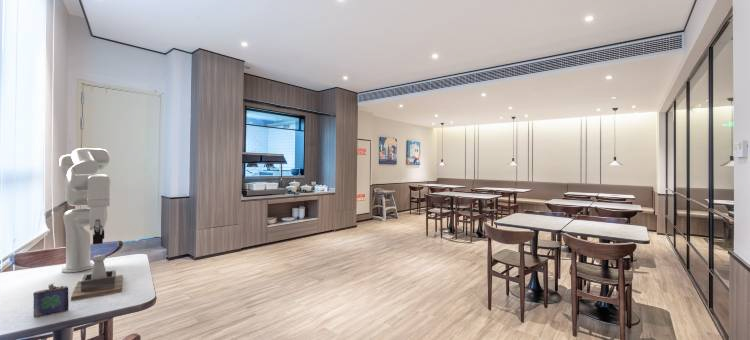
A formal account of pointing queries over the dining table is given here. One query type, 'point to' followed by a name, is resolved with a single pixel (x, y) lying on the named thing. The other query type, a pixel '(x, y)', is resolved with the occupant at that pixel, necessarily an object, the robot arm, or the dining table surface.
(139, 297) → the dining table surface
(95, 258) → the salt shaker
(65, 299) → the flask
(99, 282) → the holder board
